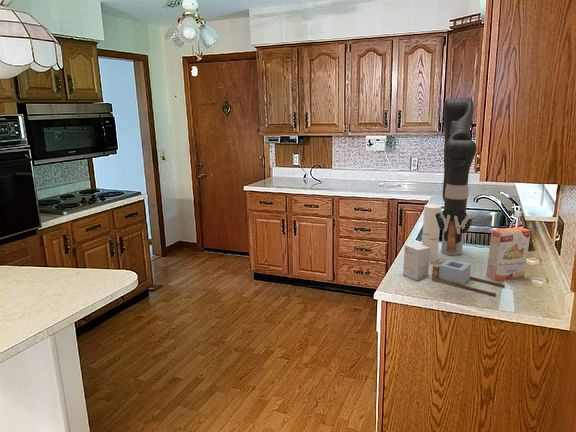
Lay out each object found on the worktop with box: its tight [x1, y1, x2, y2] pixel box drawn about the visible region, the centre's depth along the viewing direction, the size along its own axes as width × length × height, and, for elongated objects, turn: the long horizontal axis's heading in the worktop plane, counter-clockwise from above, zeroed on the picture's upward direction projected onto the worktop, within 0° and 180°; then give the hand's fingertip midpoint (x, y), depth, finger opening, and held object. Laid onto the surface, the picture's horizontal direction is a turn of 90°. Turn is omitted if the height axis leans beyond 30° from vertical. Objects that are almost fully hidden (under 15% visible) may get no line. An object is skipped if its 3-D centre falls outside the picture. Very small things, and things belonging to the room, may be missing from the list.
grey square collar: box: [438, 259, 472, 285], centre depth 176 cm, size 9×9×6 cm
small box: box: [402, 242, 430, 281], centre depth 182 cm, size 8×6×13 cm
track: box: [431, 258, 506, 297], centre depth 173 cm, size 11×24×7 cm, turn 49°
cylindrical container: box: [421, 204, 442, 264], centre depth 200 cm, size 7×7×25 cm
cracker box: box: [485, 226, 532, 282], centre depth 178 cm, size 14×6×21 cm, turn 105°
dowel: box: [447, 220, 457, 253], centre depth 164 cm, size 3×3×12 cm
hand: (452, 241), depth 165 cm, fingers closed on dowel, 3 cm apart
